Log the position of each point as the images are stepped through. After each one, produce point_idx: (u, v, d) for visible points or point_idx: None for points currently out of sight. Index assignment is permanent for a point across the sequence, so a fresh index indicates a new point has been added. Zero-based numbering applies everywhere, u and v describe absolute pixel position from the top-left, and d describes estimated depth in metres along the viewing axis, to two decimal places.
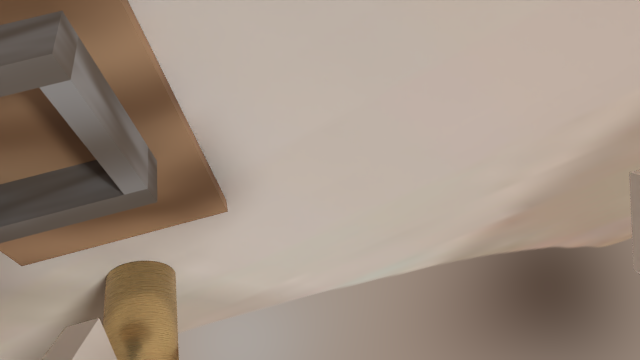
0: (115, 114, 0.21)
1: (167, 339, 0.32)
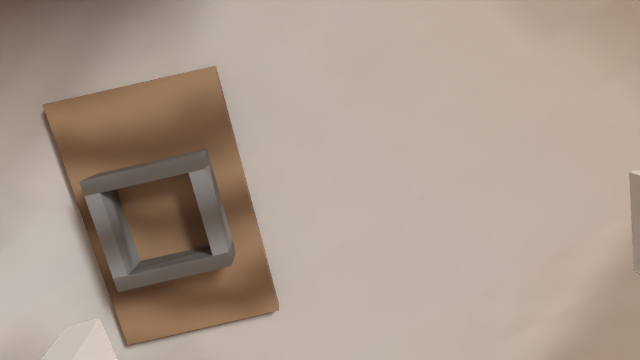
0: (219, 204, 0.37)
1: None
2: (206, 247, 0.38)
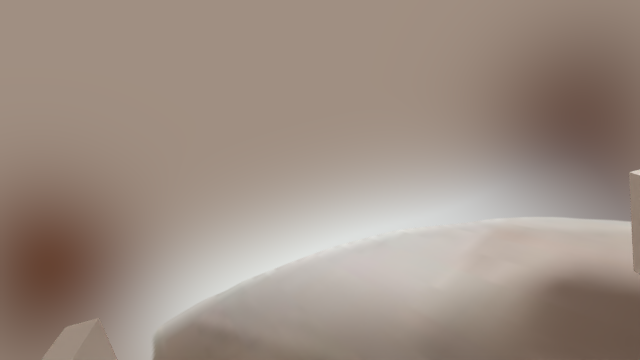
0: None
1: None
2: None
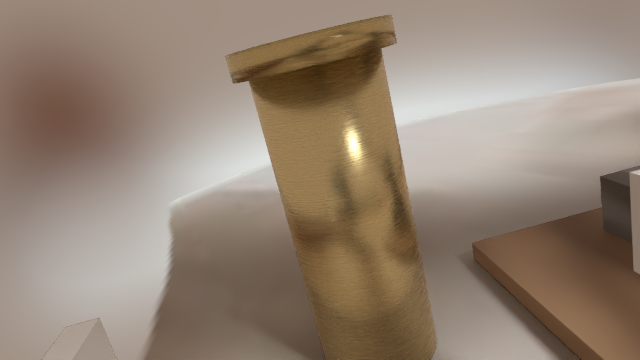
0: None
1: (390, 240, 0.17)
2: None
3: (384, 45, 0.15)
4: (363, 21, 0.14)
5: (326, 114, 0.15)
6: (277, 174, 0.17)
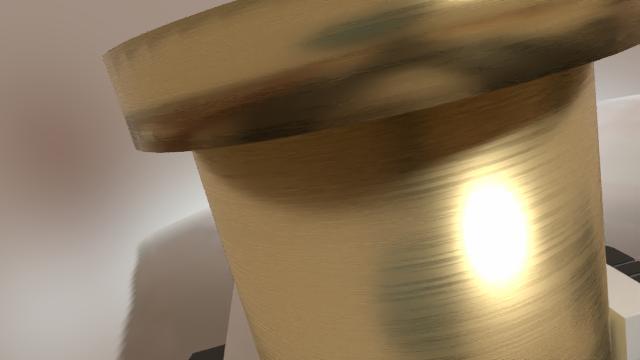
0: None
1: None
2: None
3: None
4: None
5: (446, 274, 0.04)
6: None
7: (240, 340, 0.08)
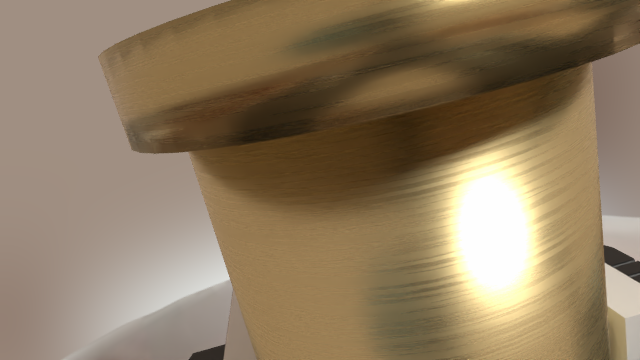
0: None
1: None
2: None
3: None
4: None
5: (443, 276, 0.04)
6: None
7: (240, 340, 0.08)
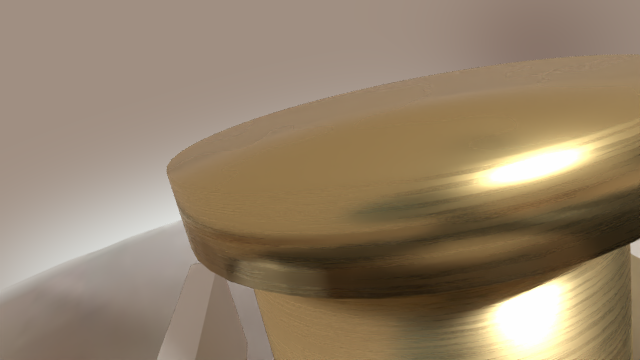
0: None
1: None
2: None
3: None
4: None
5: None
6: None
7: None
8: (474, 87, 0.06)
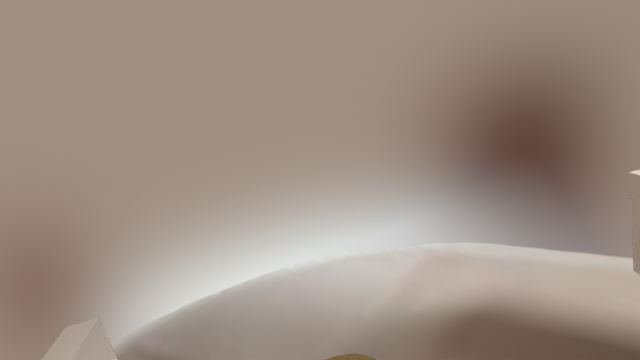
0: None
1: None
2: None
3: None
4: None
5: None
6: None
7: None
8: None
